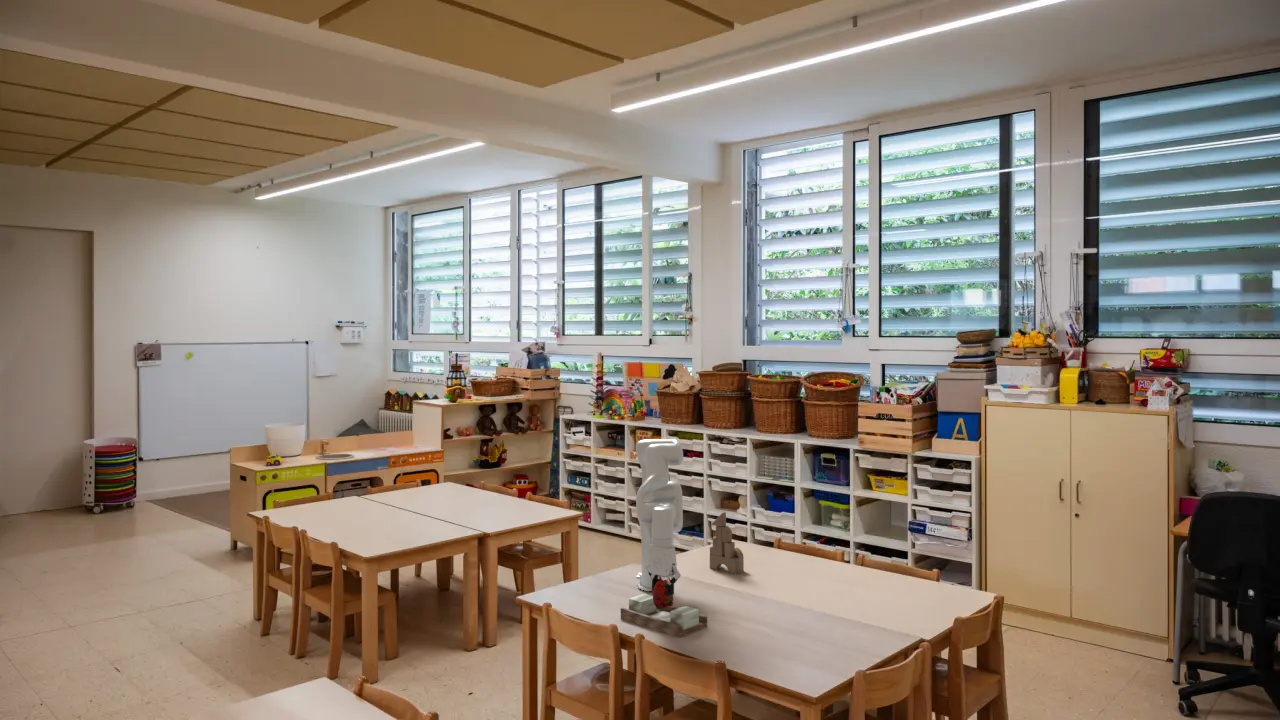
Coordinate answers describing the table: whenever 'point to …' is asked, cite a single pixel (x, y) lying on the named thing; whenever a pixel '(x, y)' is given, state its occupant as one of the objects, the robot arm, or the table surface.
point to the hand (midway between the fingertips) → (663, 592)
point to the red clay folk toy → (661, 594)
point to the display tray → (663, 616)
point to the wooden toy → (725, 548)
